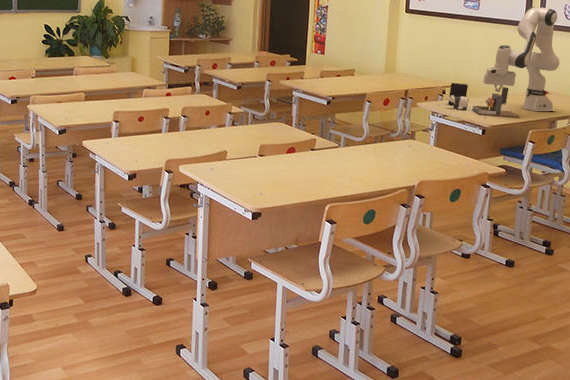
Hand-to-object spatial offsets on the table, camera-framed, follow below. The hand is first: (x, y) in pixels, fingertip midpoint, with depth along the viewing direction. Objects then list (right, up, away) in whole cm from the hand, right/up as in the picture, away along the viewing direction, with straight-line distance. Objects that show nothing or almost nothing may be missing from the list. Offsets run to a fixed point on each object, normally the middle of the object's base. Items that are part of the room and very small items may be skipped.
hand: (497, 91), depth 539 cm
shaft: (-1, -8, +2) cm, 8 cm away
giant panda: (-24, -11, +10) cm, 28 cm away
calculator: (-22, -7, +24) cm, 33 cm away
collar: (-4, -10, +3) cm, 11 cm away
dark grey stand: (-1, -14, +4) cm, 15 cm away
